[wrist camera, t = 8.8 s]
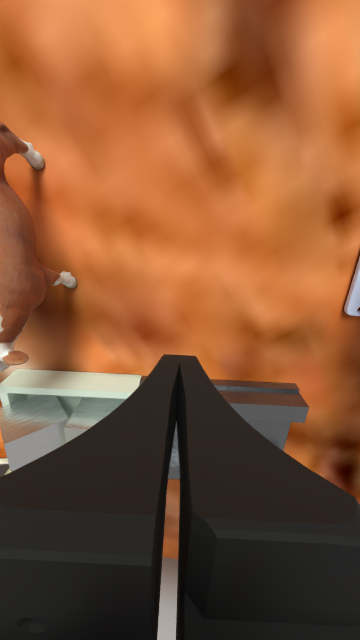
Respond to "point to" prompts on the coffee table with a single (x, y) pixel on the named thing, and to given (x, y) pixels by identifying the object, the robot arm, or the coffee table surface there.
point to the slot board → (257, 410)
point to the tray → (66, 386)
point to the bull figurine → (19, 256)
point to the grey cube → (89, 414)
